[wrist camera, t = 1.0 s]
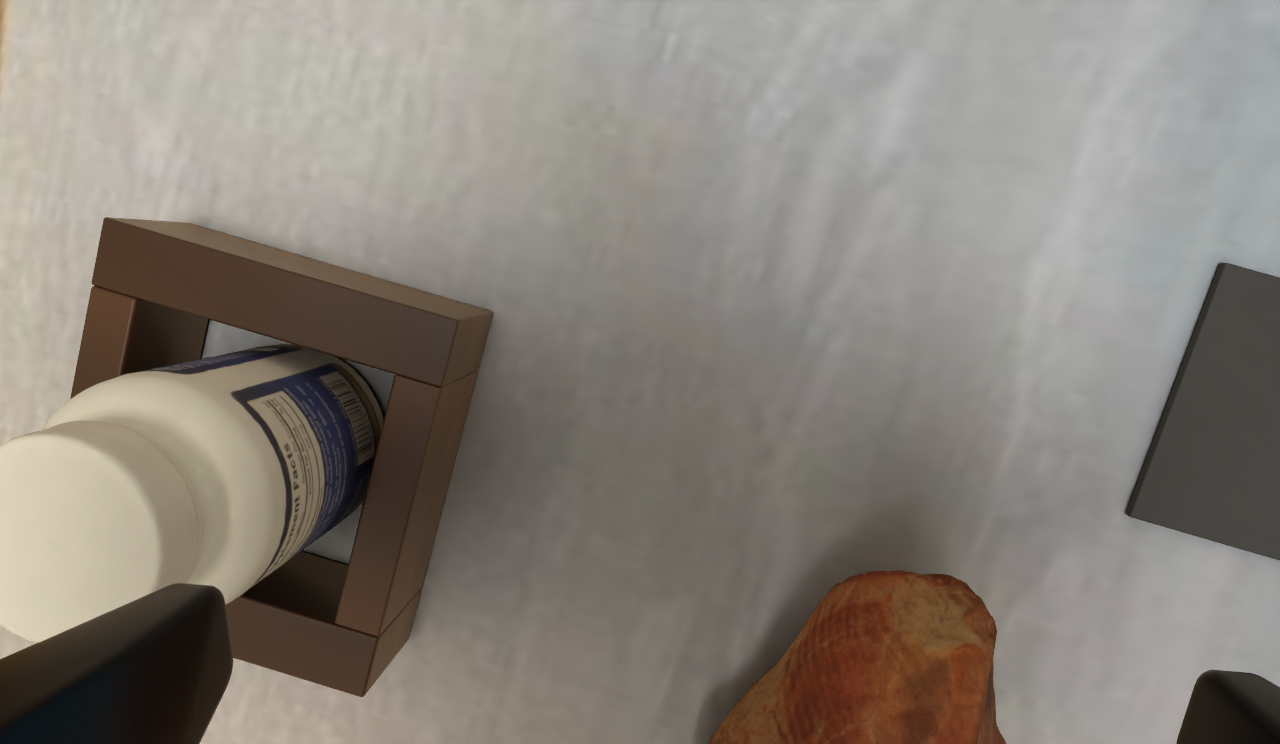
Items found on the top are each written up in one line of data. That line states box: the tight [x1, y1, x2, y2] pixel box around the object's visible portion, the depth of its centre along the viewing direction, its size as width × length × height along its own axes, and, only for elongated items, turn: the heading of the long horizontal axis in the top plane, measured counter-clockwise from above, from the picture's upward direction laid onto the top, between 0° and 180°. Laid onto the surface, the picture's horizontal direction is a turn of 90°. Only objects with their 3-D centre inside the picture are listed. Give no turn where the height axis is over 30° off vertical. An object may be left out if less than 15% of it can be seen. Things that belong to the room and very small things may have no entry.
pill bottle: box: [0, 344, 384, 643], centre depth 21 cm, size 5×5×10 cm
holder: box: [70, 217, 493, 697], centre depth 24 cm, size 10×9×4 cm
